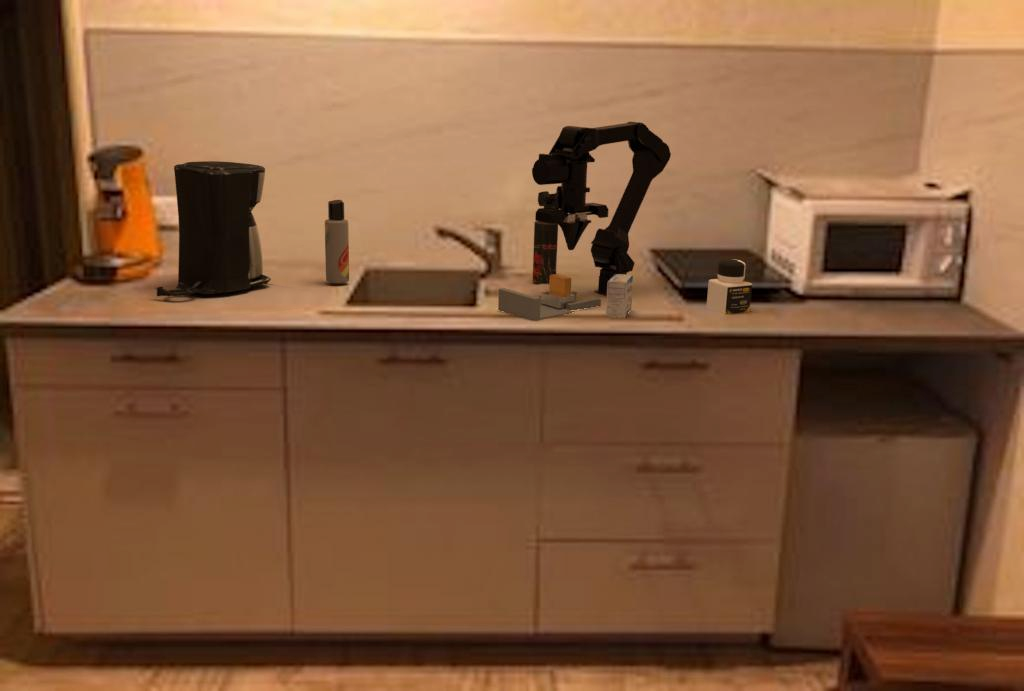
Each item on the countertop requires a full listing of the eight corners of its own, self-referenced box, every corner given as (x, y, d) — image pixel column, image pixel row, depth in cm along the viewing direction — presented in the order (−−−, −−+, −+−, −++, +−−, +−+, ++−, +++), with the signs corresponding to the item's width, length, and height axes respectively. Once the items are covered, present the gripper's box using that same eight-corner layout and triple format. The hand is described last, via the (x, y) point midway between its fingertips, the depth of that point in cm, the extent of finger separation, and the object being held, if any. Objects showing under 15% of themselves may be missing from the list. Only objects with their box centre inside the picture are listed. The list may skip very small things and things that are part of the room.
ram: (556, 300, 235) (557, 273, 233) (574, 305, 230) (576, 277, 229) (540, 303, 232) (541, 275, 230) (559, 308, 227) (560, 280, 225)
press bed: (568, 298, 242) (569, 276, 240) (605, 308, 233) (606, 286, 232) (498, 311, 228) (498, 288, 226) (534, 322, 219) (535, 299, 217)
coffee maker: (281, 278, 254) (276, 160, 246) (230, 304, 227) (224, 172, 219) (207, 272, 257) (201, 156, 249) (150, 297, 231) (140, 168, 223)
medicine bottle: (725, 316, 229) (730, 264, 226) (705, 309, 235) (709, 258, 232) (750, 313, 232) (755, 262, 229) (729, 306, 238) (734, 256, 235)
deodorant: (558, 283, 257) (561, 224, 253) (535, 283, 255) (537, 224, 251) (552, 278, 262) (554, 220, 258) (529, 278, 261) (531, 220, 257)
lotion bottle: (354, 280, 253) (352, 200, 247) (338, 284, 248) (337, 202, 243) (336, 277, 256) (335, 198, 250) (321, 281, 251) (319, 200, 246)
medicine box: (625, 320, 223) (627, 282, 221) (605, 318, 224) (607, 280, 222) (631, 312, 231) (633, 274, 228) (611, 310, 232) (613, 273, 229)
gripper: (577, 176, 244) (574, 240, 249) (520, 181, 232) (517, 248, 236) (611, 181, 236) (608, 247, 241) (553, 186, 224) (551, 256, 229)
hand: (570, 249), depth 237 cm, fingers closed
